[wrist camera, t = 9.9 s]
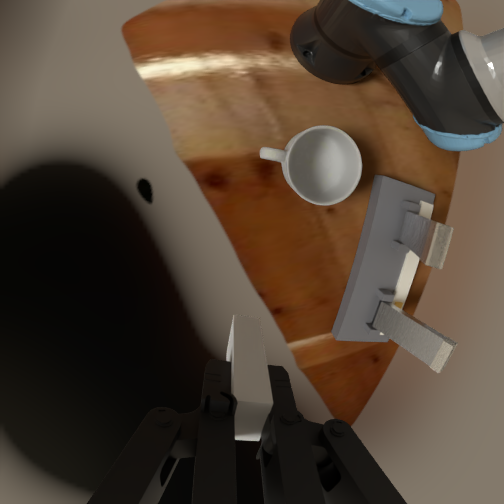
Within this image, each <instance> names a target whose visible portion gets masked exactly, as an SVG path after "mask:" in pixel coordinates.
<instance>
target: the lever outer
mask: <svg viewBox="0 0 504 504" xmlns="http://www.w3.org/2000/svg"><path fill="white" fill-rule="evenodd" d="M371 324H372V326H373V327H374V328H376V329H377V330H379V331H380V332H381V333H383V334H384V335H386V336H387V337H389V338H390V339H392V340H393V341H394V342H396V343H397V344H399V345H400V346H402V347H403V348H405V349H406V350H407V351H409V352H411V353H412V354H413V355H415V356H416V357H418V358H419V359H421V360H422V361H423V362H425V363H427V364H428V365H429V366H430V368H431V369H433V370H434V371H436V372H437V373H440V372H441V371H442V370H443V369H444V368H445V366H446V365H447V363H448V361H449V359H450V357H451V355H452V353H453V352H454V350H455V348H456V346H457V344H458V343H457V342H456V341H454V340H452V339H451V338H449V337H448V338H447V337H446V336H444V335H443V334H441V333H439V332H438V331H436V330H435V329H433V328H431V327H429V326H428V325H426V324H425V323H423V322H421V321H420V320H418V319H416V318H415V317H413V316H412V315H410V314H408V313H407V312H405V311H403V310H402V309H400V308H398V307H397V306H395V305H393V304H391V303H390V302H388V301H382V300H380V301H379V304H378V306H377V309H376V312H375V314H374V317H373V320H372V322H371Z"/></svg>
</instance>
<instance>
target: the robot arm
mask: <svg viewBox="0 0 504 504" xmlns="http://www.w3.org/2000/svg"><path fill="white" fill-rule="evenodd" d="M442 14H443V5H442V2H441V1H440V0H320V1H319V3H318V5H317V6H315V7H313V8H311V9H309V10H307V11H306V12H304V13H303V14H301V15H300V16H299V17H298V18H297V20H296V21H295V23H294V25H293V27H292V30H291V33H290V44H291V48H292V51H293V53H294V55H295V57H296V58H297V60H298V61H299V62H300V64H301V65H302V66H303V67H304V68H305V69H306V70H308V71H309V72H310V73H312V74H313V75H315V76H316V77H318V78H320V79H322V80H325V81H328V82H331V83H336V84H351V83H355V82H358V81H360V80H362V79H363V78H365V77H367V76H368V75H369V74H370V73H371V72H372V71H373V70H374V69H375V67H376V65H377V66H378V67H379V68H380V69H381V71H382V72H383V73H384V75H385V76H386V77H387V78H388V80H389V81H390V82H391V84H392V85H393V86H394V88H395V89H396V91H397V92H398V93H399V95H400V96H401V98H402V99H403V101H404V102H405V103H406V105H407V106H408V108H409V109H410V111H411V112H412V114H413V118H414V120H415V122H416V123H417V124H418V125H419V126H420V127H421V128H422V130H423V131H424V133H425V134H426V136H427V137H428V139H429V140H430V141H431V142H432V143H434V144H435V145H436V146H437V147H439V148H442V149H445V150H449V151H468V150H474V149H477V148H480V147H483V146H484V143H491V142H493V141H495V140H496V139H497V138H498V137H499V135H500V134H501V131H502V123H504V28H502V29H500V30H497V31H494V32H492V33H489V34H487V35H484V36H477V35H475V34H472V33H470V32H467V31H465V30H461V31H459V32H457V33H454V34H451V33H450V32H449V30H448V29H447V28H446V26H445V25H444V24H443V23H442V21H441V20H440V19H441V16H442ZM260 437H262V444H261V447H260V449H259V451H258V454H257V458H256V459H259V457H260V458H261V469H262V481H263V491H264V501H265V504H407V503H406V502H405V500H404V499H403V498H402V496H401V495H400V494H399V492H398V491H397V490H396V488H395V487H394V486H393V484H392V483H391V481H390V480H389V479H388V477H387V476H386V475H385V473H384V472H383V471H382V469H381V468H380V467H379V465H378V464H377V462H376V461H375V460H374V458H373V457H372V456H371V454H370V453H369V452H368V450H367V449H366V447H365V446H364V445H363V443H362V442H361V440H360V439H359V438H358V436H357V435H356V434H355V432H354V431H353V429H352V428H351V426H350V425H349V424H348V423H346V422H344V421H342V420H339V419H331V420H328V421H326V422H325V424H324V425H323V424H319V423H314V422H310V421H308V420H306V419H304V417H303V415H302V414H301V413H300V412H299V411H297V408H296V404H295V400H294V396H293V392H292V388H291V384H290V379H289V375H288V373H287V371H286V370H285V369H284V368H283V367H282V366H273V365H267V360H266V354H265V348H264V341H263V335H262V328H261V321H260V318H256V317H249V316H242V315H234V316H233V321H232V326H231V333H230V337H229V343H228V348H227V361H222V360H214V359H211V360H210V361H209V362H208V363H207V365H206V368H205V375H204V383H203V393H202V401H201V405H200V407H199V408H198V409H197V410H195V411H193V412H191V413H186V414H178V413H177V412H176V411H174V410H172V409H170V408H165V407H159V408H155V409H152V410H151V411H150V412H149V413H148V414H147V415H146V417H145V418H144V420H143V421H142V423H141V424H140V426H139V427H138V429H137V430H136V432H135V433H134V435H133V436H132V438H131V439H130V441H129V442H128V444H127V445H126V447H125V448H124V450H123V451H122V453H121V454H120V456H119V457H118V459H117V460H116V461H115V463H114V464H113V466H112V467H111V469H110V470H109V472H108V473H107V475H106V476H105V478H104V479H103V481H102V482H101V484H100V485H99V487H98V488H97V490H96V491H95V493H94V494H93V495H92V497H91V498H90V500H89V501H88V503H87V504H158V502H159V500H160V497H161V496H162V494H163V492H164V490H165V488H166V485H167V483H168V481H169V479H170V477H171V475H172V473H173V471H174V469H175V467H176V465H177V463H178V461H179V459H180V458H186V457H194V456H196V459H195V470H194V483H193V495H192V504H237V497H236V496H237V494H236V461H235V440H250V441H251V440H252V441H259V439H260Z"/></svg>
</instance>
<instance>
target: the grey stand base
mask: <svg viewBox="0 0 504 504" xmlns="http://www.w3.org/2000/svg"><path fill="white" fill-rule="evenodd" d="M434 198H435V194H433V193H430V192H428V191H425V190H423V189H420V188H417V187H414V186H412V185H409V184H406V183H403V182H400V181H397V180H395V179H392V178H389V177H386V176H381V175H375V176H374V181H373V186H372V191H371V195H370V200H369V204H368V209H367V213H366V217H365V221H364V225H363V229H362V233H361V237H360V241H359V245H358V249H357V252H356V256H355V259H354V263H353V266H352V270H351V273H350V277H349V280H348V283H347V286H346V290H345V293H344V296H343V299H342V302H341V305H340V308H339V311H338V314H337V317H336V320H335V323H334V326H333V329H332V331H331V332H332V334H333V335H334V337H335V339H336V340H342V341H368V342H388V340H389V337H387V336H386V335H384V334H383V333H381V332H380V331H379V330H377V329H376V328H374V327H373V326H372V324H371V322H372V320H373V317H374V314H375V312H376V309H377V306H378V304H379V301H380V300H382V301H388V302H390V303H391V304H393V305H395V306H397V307H398V308H400V309H402V308H403V306H404V303H405V300H406V298H407V295H408V292H409V290H410V287H411V284H412V281H413V278H414V275H415V272H416V269H417V266H418V263H419V259H420V258H419V257H418V256H417V255H416V254H415V253H413V252H412V251H411V250H410V249H409V248H408V247H407V246H405V245H404V244H403V243H402V242H401V241H400V240H399V237H400V233H401V230H402V226H403V222H404V218H405V213H406V211H408V212H411V213H414V214H417V215H420V216H423V217H426V218H428V219H431V215H432V211H433V206H434V205H433V202H434Z"/></svg>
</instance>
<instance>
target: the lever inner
mask: <svg viewBox="0 0 504 504" xmlns="http://www.w3.org/2000/svg"><path fill="white" fill-rule="evenodd" d="M453 229H454V228H452V227H450V226H447V225H444V224H442V223H439V222H436V221H434V220H431V219H428V218H426V217H423V216H420V215H417V214H414V213H411V212H408V211H406V213H405V218H404V222H403V226H402V230H401V233H400V237H399V240H400V241H401V242H402V243H403V244H404V245H405V246H407V247H408V248H409V249H410V250H411V251H412V252H413V253H415V254H416V255H417V256H418V257H419V258H420V259H421V261H422V262H423V263H424V264H425V265H428V266H431V267H435V268H438V269H442V267H443V264H444V261H445V258H446V254H447V251H448V247H449V244H450V240H451V237H452V233H453Z"/></svg>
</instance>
